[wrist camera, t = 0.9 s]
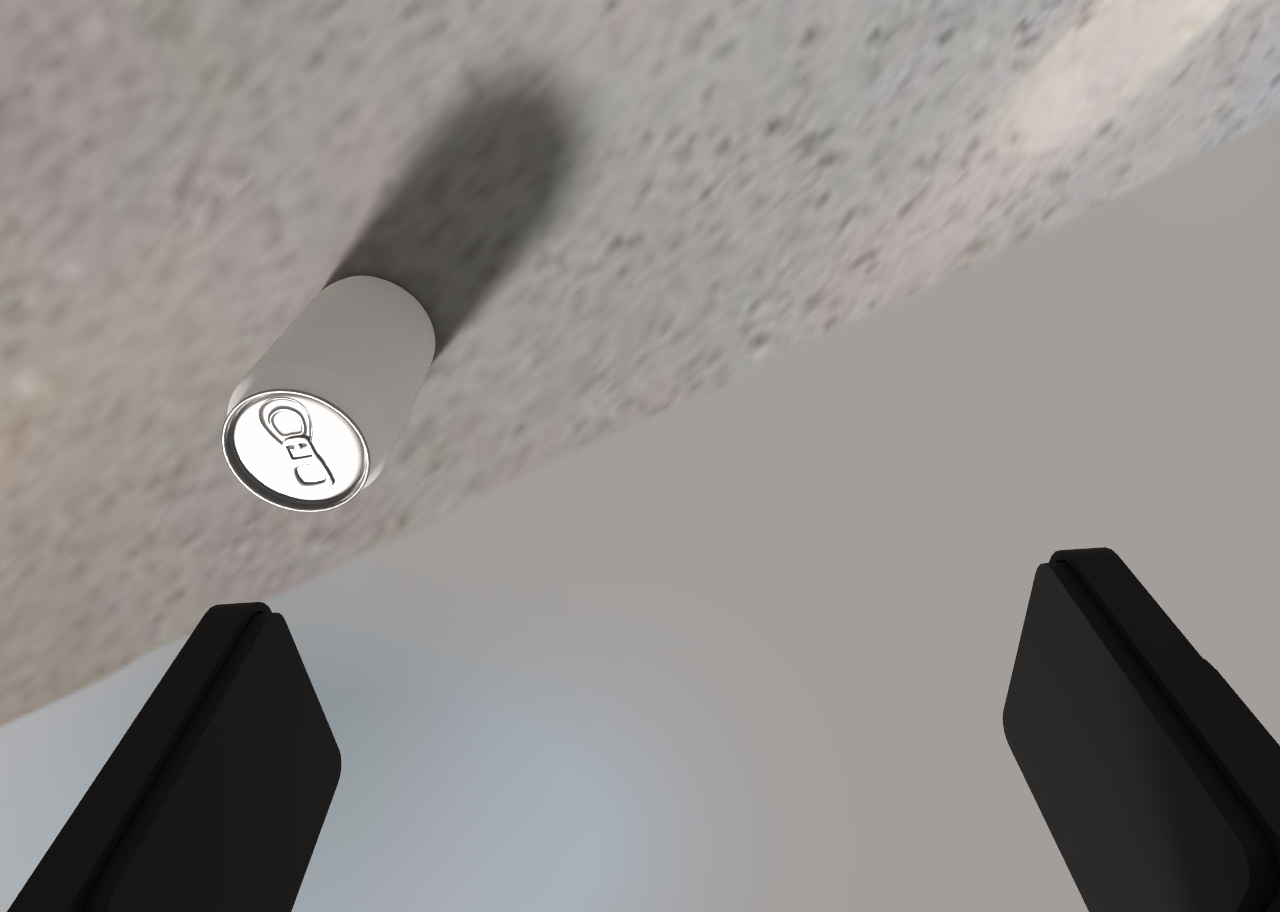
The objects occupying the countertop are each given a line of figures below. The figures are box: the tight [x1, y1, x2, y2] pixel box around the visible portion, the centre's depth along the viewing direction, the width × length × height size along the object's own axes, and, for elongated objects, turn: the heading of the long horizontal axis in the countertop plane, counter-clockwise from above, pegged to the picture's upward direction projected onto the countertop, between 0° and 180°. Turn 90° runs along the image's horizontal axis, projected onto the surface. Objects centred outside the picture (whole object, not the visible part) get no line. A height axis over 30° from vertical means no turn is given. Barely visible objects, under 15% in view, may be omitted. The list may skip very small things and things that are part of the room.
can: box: [222, 276, 435, 512], centre depth 36 cm, size 6×6×12 cm
